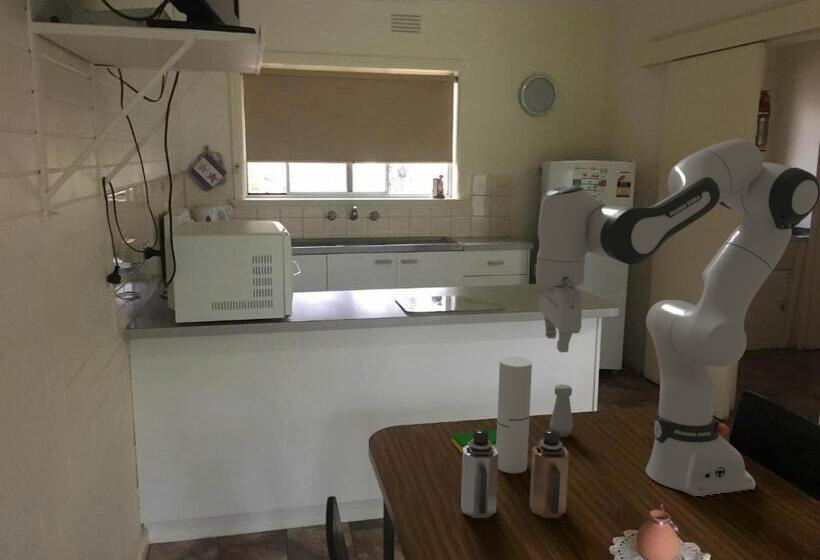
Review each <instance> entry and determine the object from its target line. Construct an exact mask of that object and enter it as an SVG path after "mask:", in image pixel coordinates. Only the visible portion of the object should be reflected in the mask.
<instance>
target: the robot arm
mask: <svg viewBox="0 0 820 560" xmlns="http://www.w3.org/2000/svg"><path fill="white" fill-rule="evenodd" d="M667 186H668V192H669V196H667V197H665V198H664V199H662V200H660V201H659V202H657V203H655V204H654V205H651V206H648V207H633V206H632V207H630V206H629V207H628V206H619V205H612V204H608V203H606V202H603V201H601V200H599V199H597V198H595V197H594V196H592V195H591V194H590V193H588V192H587V191H586V189H585V188H584V187H581V186H575V185H574V186H572V185H570V186H561V187H557V188H553V189H550V190H549V191H547V192H546V193H545V194H544V195H543V197H542V200H541V204H540V209H539V216H538V225H537V227H538V229H537V235H538V239H539V248H538V251H537V254H536V264H535V265H534V267H533V268H534V270H533V274H534V276H535V281H536V305H537V308H538V310H539V312H541V314H543V317H544V318H543V320H544V326H545V336H546V338H547V339H551V340H552V339H556V337H557V330H558V340H557V342H556V345H557V346H556V349H557V351H558V352H559V353H567V352H569V348H570V342H571V338H572V335H573V334H579V333H580V332H581V330H582V320H583V319H582V314H583V312H582V309H583V308H582V302H583V301H582V295H581V292H580V291H579V290H578V289H577V287H578V286H582V285H583V284H584V280H585V264H586V254H587V253H591V254H595V255H598V256H602V257H606V258H609V259H613V260H616V261H618V262H621V263H623V264H626V265H638V264H642V263H644V262H646V261H647V260H649V259H650V258H651V257H653V256H654V254H656V252H657V251H658V250H659V249H660V247H662V246H663V244H664V243H665V242H666V241H668V240H669V239H670V238H671V237H672V236H674V235H675V234H677V233H679V232H680V231H682V230H683V229H685V228H687V227H688V226H689V225H691V224H693V223H694V222H697V220H698V219H700V218H703V217H704V216H705V215H706V214H708V213H709V212H710V211H711V210H713V209H714V208H715V206H716V205H717V204H719V205H721V206H722V207H724V208H726V209H729V210H734V211H737V212H740V213H742V218H741V222H740V224H739V225H738V226H737V227H736V228H735V229H734V230H733V231H732V232H731V234H730V235H729V236H728V237H727V238H726V240H725V241H724V242H723V244H722V245H721V247H720V248H719V249H718V251H717V252H716V253H715V255H714V256H713V258H711V260H710V262H709V263H708V264H707V266H706V267H705V268H704V270H703V272H702V277H701V279H702V282H703V284H704V288H703V291H702V295H701V298H700V300H699V302H698V303H697V304H693V303H690V302H687V301H684V300H681V299H663V300H660V301H658V302H656V303H654V304H653V305H652V306H651V307H650V309H649V310H648V313H647V315H646V317H645V318H646V319H645V326H646V329H647V331H648V334H649V335H650V336H651V338H652V341H653V344H654V348H655V353H656V358H657V362H658V369H659V378H660V379H659V380H660V381H659V383H660V384H659V385H660V386H659V400H658V401H659V402H658V410H657V411H656V413H655V420H654V421H655V422H654V428H653V429H654V442H653V446H652V451H651V454H650V457H649V460H648V463H647V465H646V468H645V473H646V474H647V476H648V477H649V478H650V479H652V481H653V480H654V482H656V483H658V484H661V485H662V486H665V487H668V488H671V489H674V490H677V491H682V492H684V493H686V494H688V495H691V496H693V497H696V496H701V497H707V496H706V495H710V496H713V495H712V494H719V495H721V494H720V493H727V492H734V491H740V490H746V489H754V488H755V487H757V486H756V480H755V479H754V478H753V476H752V475H751V474H750V473H749V472H748V471H747V470H746V467H745V466H746V465H745V460H744V458H743V456H742V454H741V453H740V452H739V451H738V449H736V448H735V447H734V446H733V445H732V444H730V442H728V441H727V439H724V438H723V437H722V436H721V435H723V436H727V435H728V434H730V428H729V426H727V425H726V424H725V423H723V422H722V423H720V421H719V420H718V419H716V418H714V409H715V408H714V406H715V397H716V385H715V382H714V379H713V378H712V376H711V375H710V373H709V371H708V367H707V366H711V367H716V368H727V367H730V366H733V365H734V364H736V363H737V362H738V361H739V360H740V359H741V358H742V357H743V356H744V353H745V351H746V348H747V343H748V342H747V341H748V340H747V334H746V332H745V327H744V326H745V319H746V314H747V312H748V309H749V307H750V304H751V302H752V300H753V299H754V297H755V295H756V294H757V293H758V291H759V290H760V289H761V287H762V286H763V285H764V283H765V282H766V280H767V279H768V277H769V276H770V274H771V273H772V272H773V270H774V269H775V267H776V266H777V265H778V263H779V261H780V260H781V257H782V256H783V254H784V253H785V251H786V249H787V246H788V245H789V242H790V240H791V238H792V234H793V233H792V232H793V231H792V229H793V228H795V227H796V226H797V225H799V224H800V223H801V222H802V221H804V220H805V219H806V218H807V217H808V216H809V215H810V214H811V213H812V211H813V210H814V209H815V207H816V205H817V204H818V201H819V199H820V183H819V181H818V178H817V177H816V176H815V175H814V174H813V173H811V172H810V171H807V170H806V169H803V168H799V167H791V166H788V165H785V164H780V163H774V162H769V161H768V162H767V161H766V162H764V158H763V154H762V152H761V150H760V148H759V147H758V146H757V144H755V143H754V142H752V141H750V140H747V139H745V138H734V139H728V140H725V141H721V142H719V143H716V144H712V145H710V146H707V147H705V148H702V149H701V150H698V151H696V152H693V153H692V154H690V155H688V156H686V157H684V158H683V159H681V160H680V161H678V163H676V164H675V165H673V166H672V168H671V170H670V172H669V173H668V178H667ZM719 433H720V434H721V435H720V434H719Z"/></svg>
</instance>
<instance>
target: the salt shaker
mask: <svg viewBox="0 0 820 560" xmlns="http://www.w3.org/2000/svg"><path fill="white" fill-rule="evenodd" d="M554 394H555V396H556V397H555V402H554V406H553V410H552V415H551V419H550V421H549V427H550V428H549V429H554V430H557V431H559V438H567V437H568V436H570V434H571V433H572V430H573V428H574V423H573V415H572V408H571V398H570V397H571V396H572V394H573V389H572V387H571V386H570V385H567V384H557V385H555V388H554Z"/></svg>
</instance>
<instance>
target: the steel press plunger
mask: <svg viewBox="0 0 820 560" xmlns="http://www.w3.org/2000/svg"><path fill="white" fill-rule="evenodd" d="M487 430H488V429H485V428H476V429H474V430H473V431H472V432H473V439H472V440H470V442H469V445H470V447H471V448H473V449H477V450H487V449H490V448H491V447H492V442H491V441H489V440H488V437H489V432H488V431H487Z"/></svg>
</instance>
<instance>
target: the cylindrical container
mask: <svg viewBox="0 0 820 560" xmlns="http://www.w3.org/2000/svg"><path fill="white" fill-rule="evenodd" d="M498 369H499V373H498V396H497V397H498V398H497V420H496V421H497V422H496V425H497V426H496V429H497V442H496V449H497V451H498V470H499V471H501V472H503V473H506V474H507V473H508V474H520V473H524V472H525V471H526V470H527V468H528V454H529V453H528V452H529V433H530V413H531V411H530V410H531V393H532V392H531V390H532V372H533V371H532V370H533V361H532V360H530V359H528V358H524V357H519V356H518V357H517V356H506V357H503V358H500V359H499V367H498Z"/></svg>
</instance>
